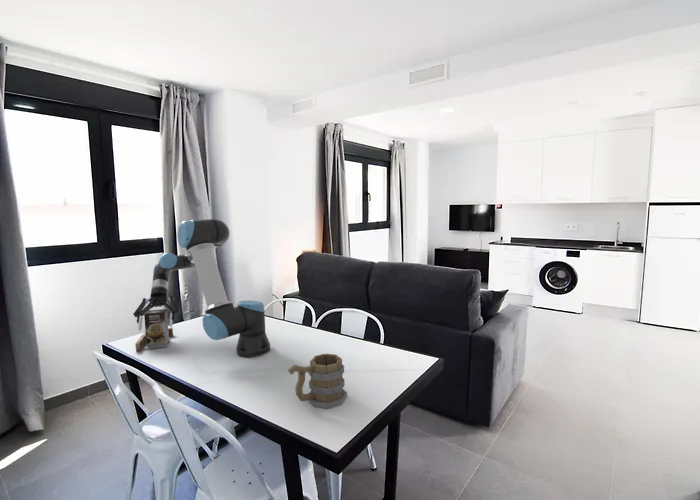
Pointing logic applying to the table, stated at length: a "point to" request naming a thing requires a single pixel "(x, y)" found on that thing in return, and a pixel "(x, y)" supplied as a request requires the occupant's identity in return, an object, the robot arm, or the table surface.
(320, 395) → the tankard
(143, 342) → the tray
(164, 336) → the coffee box
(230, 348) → the table surface
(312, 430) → the table surface
